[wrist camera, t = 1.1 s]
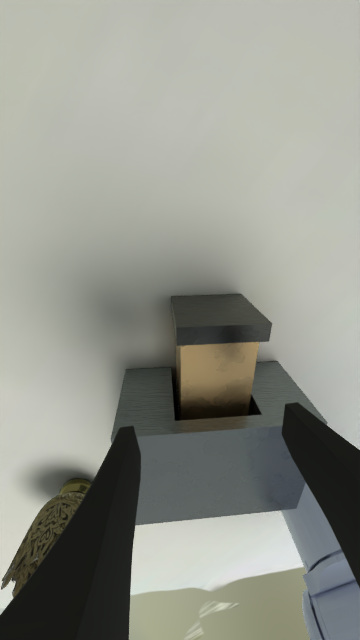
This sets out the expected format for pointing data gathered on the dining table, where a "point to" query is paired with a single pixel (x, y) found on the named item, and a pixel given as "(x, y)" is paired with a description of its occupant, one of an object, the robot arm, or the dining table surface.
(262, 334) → the sliding drawer
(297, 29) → the dining table surface
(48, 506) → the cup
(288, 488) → the housing
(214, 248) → the dining table surface
